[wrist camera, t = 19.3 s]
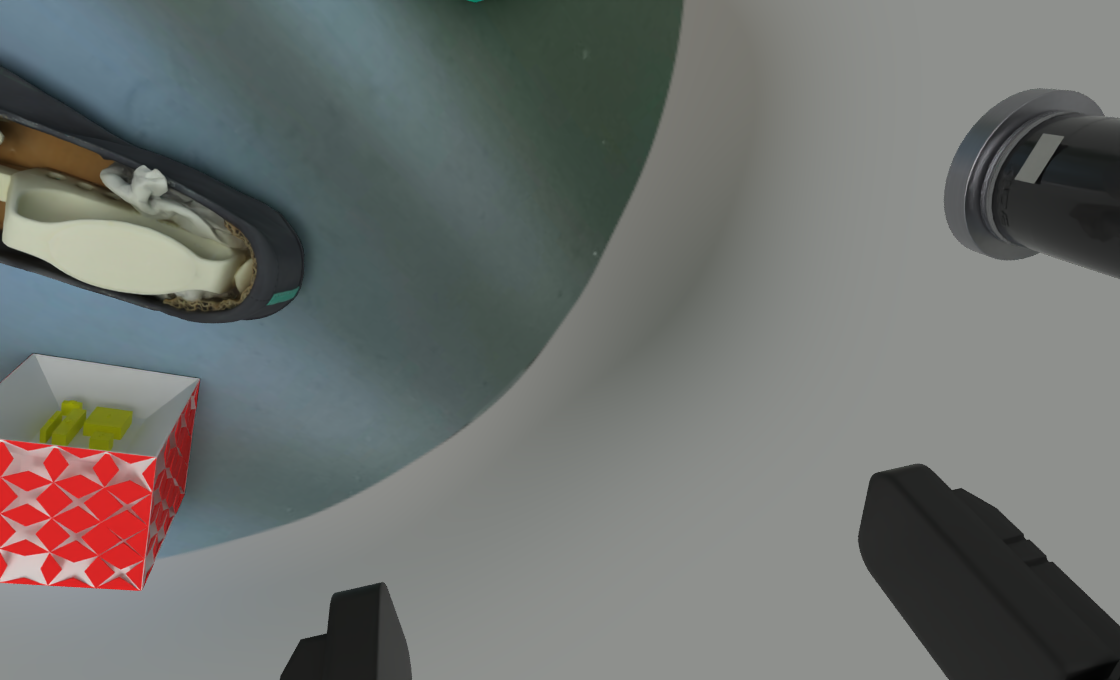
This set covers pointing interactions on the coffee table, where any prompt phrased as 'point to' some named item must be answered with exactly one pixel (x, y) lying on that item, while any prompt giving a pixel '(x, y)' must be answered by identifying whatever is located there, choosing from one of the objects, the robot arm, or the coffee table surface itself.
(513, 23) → the coffee table surface
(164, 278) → the ballet flat
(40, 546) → the red white cube box
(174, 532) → the coffee table surface
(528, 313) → the coffee table surface
